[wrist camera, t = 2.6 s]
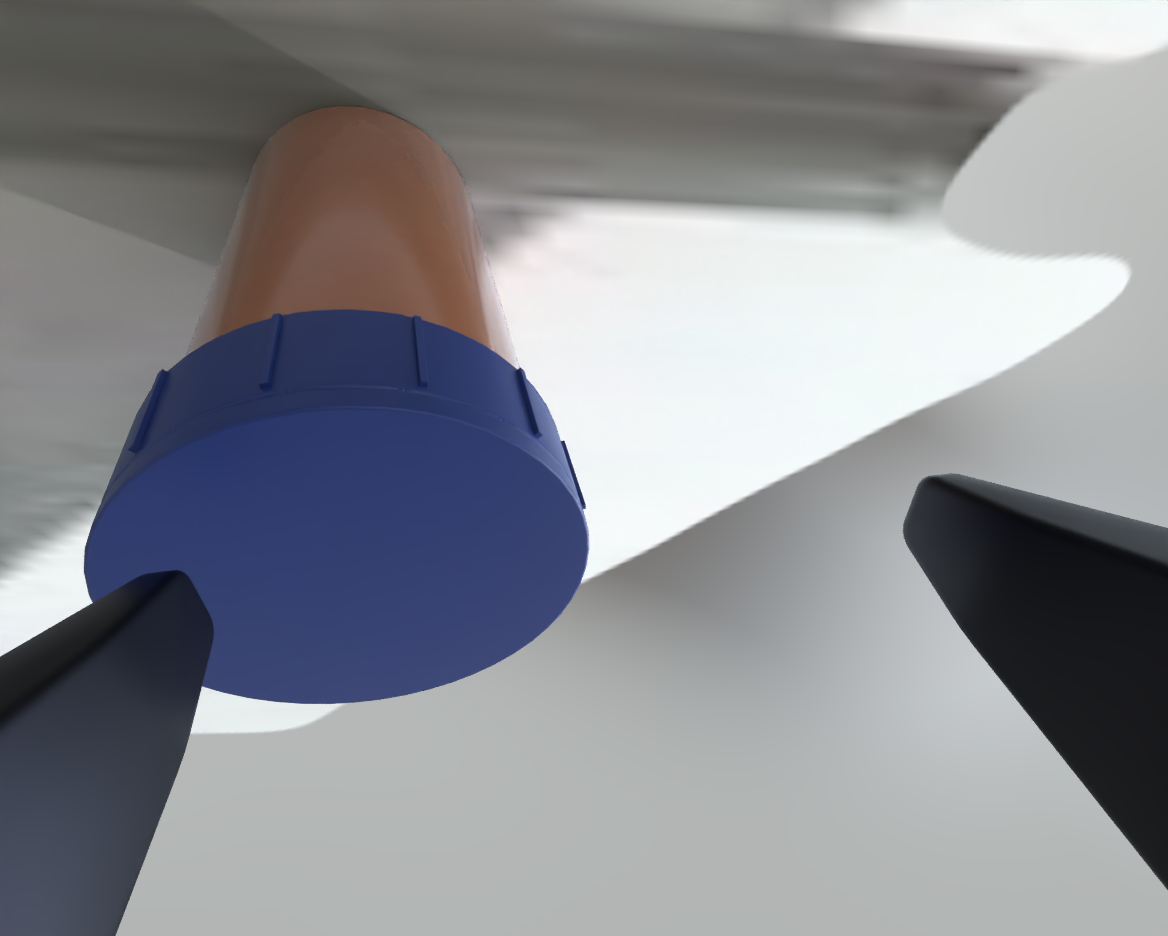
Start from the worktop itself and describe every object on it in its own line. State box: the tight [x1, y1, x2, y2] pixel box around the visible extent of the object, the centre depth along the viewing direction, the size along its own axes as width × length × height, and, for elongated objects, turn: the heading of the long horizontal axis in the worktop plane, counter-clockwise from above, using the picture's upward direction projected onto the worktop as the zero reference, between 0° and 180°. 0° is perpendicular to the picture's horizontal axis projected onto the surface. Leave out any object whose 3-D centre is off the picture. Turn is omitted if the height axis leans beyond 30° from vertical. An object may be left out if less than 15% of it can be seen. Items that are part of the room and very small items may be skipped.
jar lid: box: [84, 309, 589, 704], centre depth 10 cm, size 7×7×2 cm
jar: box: [186, 106, 520, 369], centre depth 15 cm, size 6×6×13 cm
